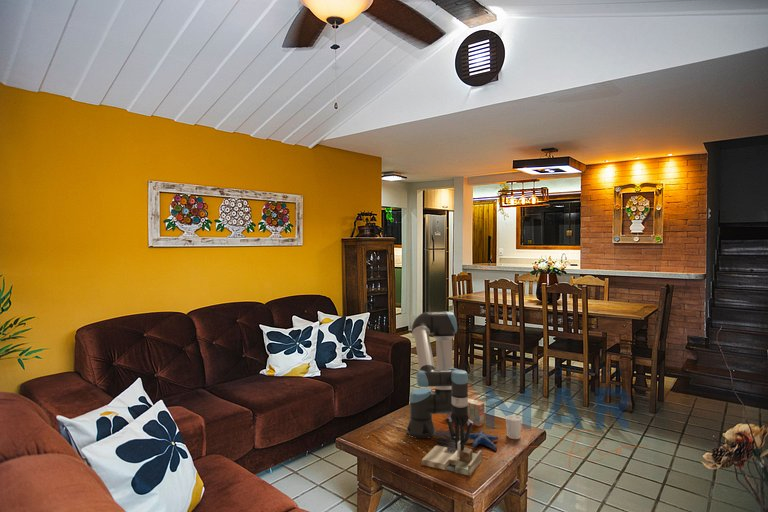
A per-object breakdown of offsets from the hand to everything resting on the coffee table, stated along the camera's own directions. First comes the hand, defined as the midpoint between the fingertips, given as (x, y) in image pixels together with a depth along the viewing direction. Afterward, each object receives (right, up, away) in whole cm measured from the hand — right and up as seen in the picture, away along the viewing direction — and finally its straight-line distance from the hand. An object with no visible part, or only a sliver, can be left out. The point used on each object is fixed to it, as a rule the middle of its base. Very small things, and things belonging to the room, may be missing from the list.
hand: (459, 456), depth 211 cm
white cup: (+33, -3, +30) cm, 45 cm away
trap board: (-4, -4, +2) cm, 6 cm away
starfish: (+16, -4, +21) cm, 26 cm away
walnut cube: (+3, -1, -1) cm, 3 cm away
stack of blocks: (+12, -3, +53) cm, 54 cm away
